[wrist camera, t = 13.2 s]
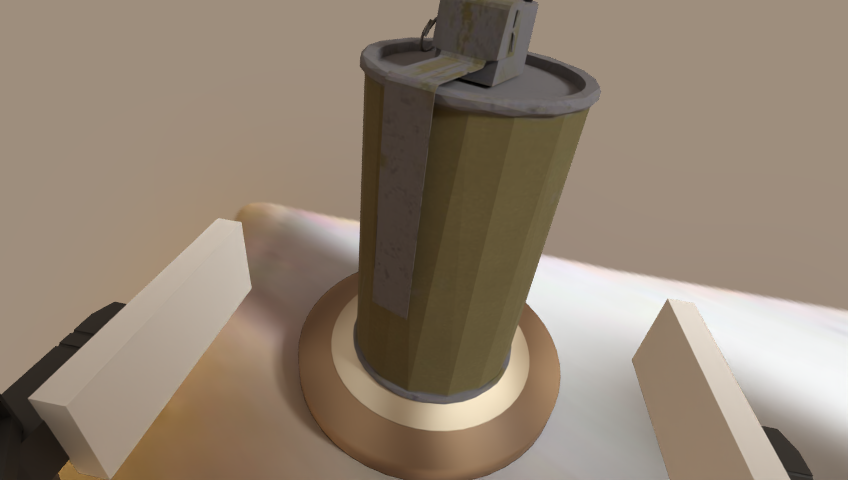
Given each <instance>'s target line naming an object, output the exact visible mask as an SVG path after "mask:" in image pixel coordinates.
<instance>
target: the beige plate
mask: <svg viewBox="0 0 848 480" xmlns="http://www.w3.org/2000/svg"><path fill="white" fill-rule="evenodd" d="M358 275H359V272H357V273H355V274H353V275H351V276H349V277H347V278H345V279H343V280H342V281H340V282H339V283H337V284H336V285H335V286H333V287H332V288H331V289H330V290H328V291H327V292H326V293H325V294H324V295H323V296H322V297H321V298H320V299H319V301H318V302H317V303H316V304H315V305H314V307H313V308H312V310H311V312H310V313H309V315H308V316H307V319H306V321H305V323H304V326H303V328H302V332H301V336H300V340H299V352H298V358H299V370H300V380H301V387H302V391H303V394H304V398H305V401H306V403H307V405H308V407H309V410H310V412H311V414H312V416H313V417H314V419H315V420H316V422H317V423H318V425H319V426H320V428H321V429H322V431H323V432H324V433H325V434H326V435H327V436H328V437H329V438H330V439H331V440H332V441H333V442H334V444H336V445H337V446H338V447H339V448H341V449H342V450H343V451H344V452H345V453H347V454H348V455H349V456H351V457H352V458H354V459H356V460H357V461H359V462H361V463H362V464H364V465H366V466H367V467H370V468H372V469H374V470H377V471H379V472H381V473H384V474H386V475H389V476H393V477H397V478H400V479H404V480H473V479H476V478H480V477H483V476H487V475H489V474H491V473H494V472H496V471H498V470H500V469H502V468H504V467H506V466H508V465H509V464H511V463H512V462H514V461H515V460H517V459H518V458H519V457H521V456H522V455H523V454H524V453H525V452H526V451H527V450H528V449H529V448H530V447H531V446H532V445H533V444H534V442H535V441H536V440H537V438H538V437H539V436H540V434H541V433H542V431H543V429H544V427H545V425H546V423H547V421H548V419H549V417H550V414H551V412H552V410H553V408H554V406H555V403H556V400H557V396H558V393H559V386H560V364H559V359H558V355H557V350H556V348H555V345H554V343H553V340H552V338H551V336H550V334H549V332H548V330H547V328H546V327H545V325H544V324H543V322H542V321H541V320H540V318H539V317H538V315H537V314H536V313H535V312H534V311H533V310H532V309H531V308H530V307H529V305H527V304H526V303H525V305H524V308H523V311H522V314H521V317H520V320H519V323H518V326H517V329H516V332H515V335H514V338H513V341H512V344H511V347H512V348H511V355H510V361H509V365H508V367H507V369H506V371H505V373H504V375H503V376H502V378H501V379H500V380H499V382H498V383H497V384H496V385H495V386H493V387H492V388H491V389H489V390H488V391H486V392H484V393H482V394H481V395H479V396H477V397H476V398H473V399H470V400H467V401H464V402H458V403H452V404H433V403H422V402H418V401H415V400H411V399H407V398H405V397H402V396H400V395H398V394H395V393H393V392H391V391H390V390H388V389H386V388H385V387H383V386H381V385H380V384H378V383H377V382H376V381H375V380H374V379H373V378H372V377H371V376H370V375H369V374H368V373H367V372H366V370H365V369H364V367H363V366H362V364H361V362H360V361H359V359H358V357H357V354H356V351H355V348H354V341H353V330H354V324H355V321H356V319H357V307H358Z"/></svg>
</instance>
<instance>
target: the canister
mask: <svg viewBox="0 0 848 480" xmlns="http://www.w3.org/2000/svg"><path fill="white" fill-rule="evenodd" d="M537 9H538V4H537V2H535V1H533V0H440V4H439V10H438V16H437V17H436V18H435V19H434V20H431V19H430V20H429V22H428V23H427V25H426V26H425V28H424V30H423V32H422V35H421V38H403V39H394V40H386V41H379V42H376V43H373V44H370V45H368V46H367V47H366V48H365V49H364V50H363V51H362V53H361V57H360V67H361V68H362V70H363V71H364V72H365V86H364V118H363V148H362V179H361V180H362V181H361V211H360V213H361V214H360V243H359V275H358V307H357V319H356V321H355V324H354V330H353V341H354V348H355V351H356V354H357V357H358V359H359V361H360V362H361V364H362V366H363V367H364V369H365V370H366V372H367V373H368V374H369V375H370V376H371V377H372V378H373V379H374V380H375V381H376V382H377V383H378V384H380V385H381V386H383V387H385V388H386V389H388V390H390V391H391V392H393V393H395V394H398V395H400V396H402V397H405V398H407V399H411V400H415V401H418V402H422V403H433V404H452V403H458V402H464V401H467V400H470V399H473V398H476V397H477V396H479V395H481V394H482V393H484V392H486V391H488V390H489V389H491V388H492V387H493V386H495V385H496V384H497V383H498V382H499V380H500V379H501V378H502V376H503V375H504V373H505V371H506V369H507V367H508V365H509V361H510V355H511V348H512V347H511V344H512V341H513V338H514V335H515V332H516V329H517V326H518V323H519V320H520V317H521V314H522V311H523V308H524V305H525V302H526V299H527V296H528V293H529V290H530V287H531V284H532V281H533V278H534V275H535V272H536V269H537V266H538V263H539V259H540V256H541V253H542V250H543V247H544V244H545V241H546V238H547V235H548V232H549V229H550V226H551V223H552V220H553V217H554V214H555V211H556V208H557V205H558V202H559V199H560V196H561V193H562V190H563V187H564V184H565V181H566V178H567V174H568V172H569V169H570V166H571V163H572V160H573V156H574V154H575V151H576V148H577V144H578V142H579V138H580V135H581V132H582V129H583V126H584V123H585V120H586V117H587V114H588V111H589V108H590V107H591V106H592V105H593V104H594V103H595V102H597V101H598V100H599V97H600V93H601V90H600V86H599V85H598V83H597V81H596V79H594V78H593V77H592V76H590V75H589V74H588V73H586V72H585V71H583V70H581V69H579V68H576V67H574V66H571V65H568V64H566V63H563V62H561V61H558V60H556V59H553V58H551V57H547V56H543V55H539V54H536V53H532V52H528V47H529V43H530V39H531V35H532V30H533V26H534V22H535V17H536V13H537ZM435 22H436V26H435V31H434V37H433V38H423V37H424V36H427V34H428V32H429V30H430V29H431V27H432V26H433V25H434V24H435Z"/></svg>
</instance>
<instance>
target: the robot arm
mask: <svg viewBox="0 0 848 480" xmlns="http://www.w3.org/2000/svg"><path fill="white" fill-rule="evenodd" d="M251 289H252V287H251V281H250V274H249V268H248V261H247V255H246V249H245V242H244V236H243V229H242V223H241V222H238V221H232V220H227V219H221V218H217V219H216V220H215V221H214V222H213V223H212V224H211V225H210V226H209V227H208V228H207V229H206V230H205V231H204V232H203V233H202V234H201V235H200V236H198V237H197V239H195V240H194V241H193V242H192V243H191V244H190V245H189V246H188V247H187V248H186V249H185V250H184V251H183V252H182V253H181V254H179V255H178V257H176V258H175V259H174V260H173V261H172V262H171V263H170V264H169V265H168V266H167V267H166V268H165V269H164V270H163V271H162V272H161V273H159V274H158V275H157V276H156V277H155V278H154V279H153V280H152V281H151V282H150V283H149V284H148V285H147V286H146V287H145V288H144V289H143V290H142V291H140V292H139V293H138V294H137V295H136V296H135V297H134V298H133V299H132V300H131V301H130V302H129V303H128V304H123V303H118V302H113V303H111V304H109V305H108V306H106V307H104V308H102V309H100V310H98V311H96V312H95V313H93V314H91V315H90V316H89V317H88V318H87V319H86V320H85V321H83V322H82V323H81V324H80V325H79V326H78V327H77V328H76V329H74V332H73V333H70V334H69V335H68V336H67V337H65V338H64V339H63V340H62V341H61V342H60V344H59V346H55V347H54V348H53V349H52V350H51V351H50V352H49V353H47V354H46V355H45V356H44V357H43V358H42V359H41V360H40V361H39V362H37V363H36V364H35V365H34V366H33V367H32V368H31V369H29V370H28V371H27V372H26V373H25V374H24V375H23V376H22V377H21V378H19V379H18V380H17V381H16V382H15V383H14V384H13V385H11V386H10V387H9V388H8V389H7V390H6V391H5V392H4V393H3V394H0V480H60V477H59V474H58V472H59V471H60V470H61V468H62V467H63V466H64V465H65V464H66V462H67V461H68V460H70V462H71V463H72V464H73V466H74V467H75V469H76V470H77V472H78V473H80V474H85V475H89V476H94V477H98V478H103V479H107V480H111V479H112V477H113V476H114V475H115V473H116V472H117V471H118V469H119V468H120V467H121V465H122V464H123V463H124V461H125V460H126V458H127V457H128V456H129V454H130V453H131V452H132V450H133V449H134V448H135V446H136V445H137V443H138V442H139V441H140V439H141V438H142V437H143V435H144V434H145V433H146V431H147V430H148V429H149V427H150V426H151V424H152V423H153V422H154V420H155V419H156V418H157V416H158V415H159V414H160V412H161V411H162V410H163V408H164V407H165V405H166V404H167V403H168V401H169V400H170V399H171V397H172V396H173V395H174V393H175V392H176V390H177V389H178V388H179V386H180V385H181V384H182V382H183V381H184V380H185V378H186V377H187V376H188V374H189V373H190V371H191V370H192V369H193V367H194V366H195V365H196V363H197V362H198V361H199V359H200V358H201V357H202V355H203V354H204V352H205V351H206V350H207V348H208V347H209V346H210V344H211V343H212V342H213V340H214V339H215V338H216V336H217V335H218V333H219V332H220V331H221V329H222V328H223V327H224V325H225V324H226V323H227V321H228V320H229V318H230V317H231V316H232V314H233V313H234V312H235V310H236V309H237V308H238V306H239V305H240V304H241V302H242V301H243V299H244V298H245V297H246V295H247V294H248V293H249V291H250V290H251ZM632 362H633V365H634V368H635V371H636V375H637V378H638V381H639V384H640V387H641V390H642V393H643V397H644V400H645V403H646V406H647V409H648V412H649V415H650V419H651V422H652V425H653V428H654V431H655V434H656V437H657V440H658V444H659V447H660V450H661V453H662V456H663V459H664V462H665V466H666V469H667V472H668V475H669V478H670V480H813V478H812V476H813V475H812V473H811V472H810V470H809V468H808V466H807V465H806V463H805V461H804V460H803V458H802V456H801V455H800V453H799V451H798V450H797V449H796V448H795V447H794V446H793V445H792V444H791V443H790V442H789V441H788V440H787V439H786V438H785V437H784V436H783V434H782V433H781V432H780V431H779V430H778V429H774V428H769V427H764V426H761V425H760V423H759V421H758V419H757V417H756V416H755V414H754V412H753V410H752V408H751V406H750V405H749V403H748V401H747V399H746V397H745V395H744V394H743V392H742V390H741V388H740V386H739V384H738V383H737V381H736V379H735V377H734V375H733V373H732V372H731V370H730V368H729V366H728V364H727V362H726V361H725V359H724V357H723V355H722V353H721V351H720V350H719V348H718V346H717V344H716V342H715V340H714V339H713V337H712V335H711V333H710V331H709V329H708V328H707V326H706V324H705V322H704V320H703V318H702V317H701V315H700V313H699V311H698V309H697V307H696V306H695V304H694V303H690V302H685V301H679V300H674V299H667V301H666V302H665V304H664V306H663V307H662V309H661V311H660V313H659V314H658V316H657V318H656V319H655V321H654V323H653V325H652V326H651V328H650V330H649V331H648V333H647V335H646V337H645V338H644V340H643V342H642V343H641V345H640V347H639V349H638V350H637V352H636V354H635V355H634V357H633V359H632Z"/></svg>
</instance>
